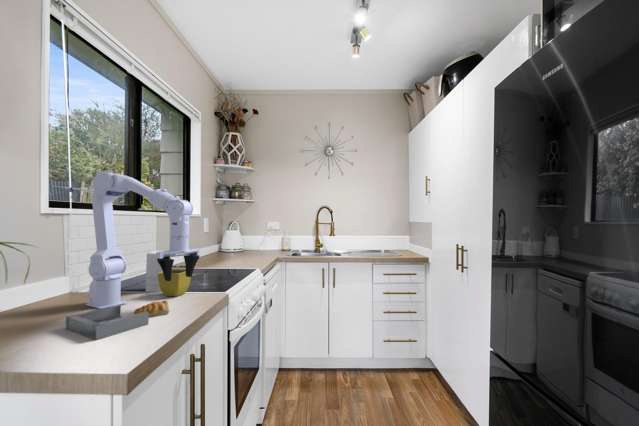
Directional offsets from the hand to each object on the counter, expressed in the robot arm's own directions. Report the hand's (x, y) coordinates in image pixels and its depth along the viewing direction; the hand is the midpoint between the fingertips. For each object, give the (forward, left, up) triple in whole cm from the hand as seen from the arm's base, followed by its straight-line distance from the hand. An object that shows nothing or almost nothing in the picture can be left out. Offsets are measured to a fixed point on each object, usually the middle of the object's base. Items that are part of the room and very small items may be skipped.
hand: (178, 278), depth 100 cm
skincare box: (-29, +13, -10) cm, 33 cm away
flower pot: (-16, +11, -10) cm, 22 cm away
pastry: (-1, -7, -10) cm, 13 cm away
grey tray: (-1, -20, -10) cm, 22 cm away
